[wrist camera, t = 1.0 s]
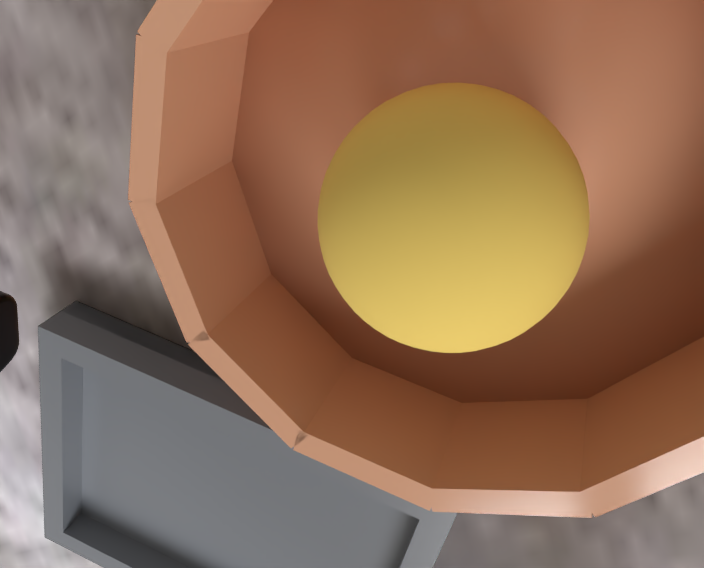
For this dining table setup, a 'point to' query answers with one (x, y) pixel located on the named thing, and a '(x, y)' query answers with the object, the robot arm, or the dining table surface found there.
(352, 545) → the tray
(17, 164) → the dining table surface
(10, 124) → the dining table surface
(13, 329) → the robot arm
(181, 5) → the bowl
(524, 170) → the ball
